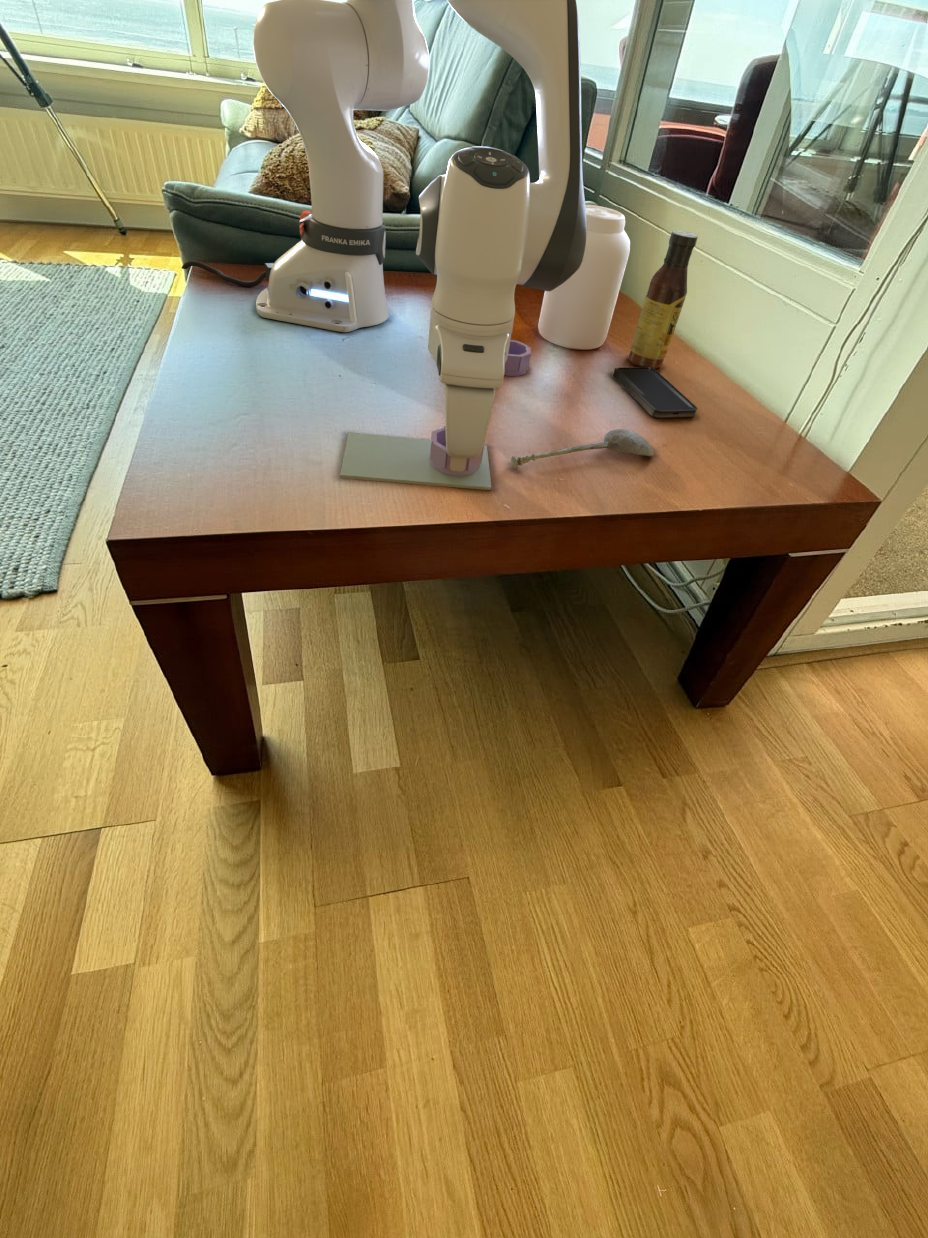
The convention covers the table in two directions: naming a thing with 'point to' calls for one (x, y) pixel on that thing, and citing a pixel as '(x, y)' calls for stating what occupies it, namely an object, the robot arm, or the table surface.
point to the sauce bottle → (663, 303)
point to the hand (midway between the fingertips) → (456, 451)
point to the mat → (403, 463)
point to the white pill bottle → (589, 285)
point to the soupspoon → (600, 446)
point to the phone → (654, 392)
